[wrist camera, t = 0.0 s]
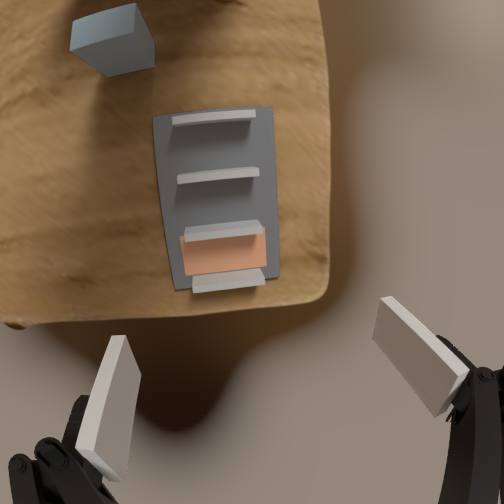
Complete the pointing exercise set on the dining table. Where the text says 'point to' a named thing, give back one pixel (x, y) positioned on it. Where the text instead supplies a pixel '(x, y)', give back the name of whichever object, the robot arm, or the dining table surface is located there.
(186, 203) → the rack
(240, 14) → the dining table surface
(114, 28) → the tall grey pillar
